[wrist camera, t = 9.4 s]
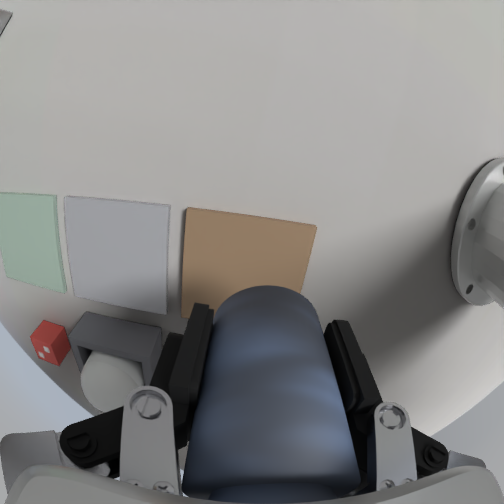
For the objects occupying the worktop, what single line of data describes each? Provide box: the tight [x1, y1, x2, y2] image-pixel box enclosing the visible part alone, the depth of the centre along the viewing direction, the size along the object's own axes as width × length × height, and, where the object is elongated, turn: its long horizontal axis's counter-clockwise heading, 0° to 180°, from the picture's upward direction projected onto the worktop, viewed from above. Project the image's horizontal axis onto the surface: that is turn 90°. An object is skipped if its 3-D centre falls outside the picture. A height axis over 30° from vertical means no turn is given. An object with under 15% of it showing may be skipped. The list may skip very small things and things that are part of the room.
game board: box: [0, 192, 317, 386], centre depth 15 cm, size 23×14×3 cm, turn 81°
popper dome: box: [81, 350, 145, 413], centre depth 15 cm, size 4×4×5 cm
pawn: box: [181, 285, 361, 504], centre depth 7 cm, size 4×4×9 cm
